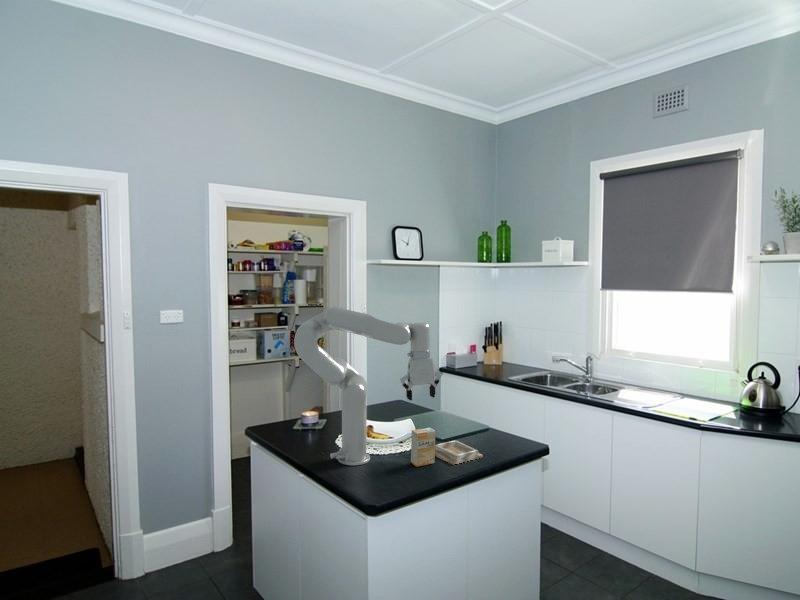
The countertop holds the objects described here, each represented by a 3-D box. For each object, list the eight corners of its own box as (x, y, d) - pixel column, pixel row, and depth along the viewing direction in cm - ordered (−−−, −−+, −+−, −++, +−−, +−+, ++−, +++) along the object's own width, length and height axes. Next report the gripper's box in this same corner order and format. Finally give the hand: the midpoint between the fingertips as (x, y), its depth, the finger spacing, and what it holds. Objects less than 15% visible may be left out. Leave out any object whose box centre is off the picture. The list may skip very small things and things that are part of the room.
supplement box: (416, 467, 189) (417, 433, 188) (410, 463, 193) (410, 429, 192) (435, 463, 193) (435, 430, 192) (428, 459, 197) (429, 426, 196)
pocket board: (453, 465, 191) (453, 457, 190) (430, 453, 203) (430, 445, 203) (482, 457, 199) (482, 450, 199) (458, 446, 211) (458, 438, 211)
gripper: (403, 358, 187) (404, 403, 188) (444, 354, 194) (445, 397, 195) (396, 355, 194) (397, 398, 195) (435, 351, 201) (436, 393, 202)
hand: (421, 398), depth 195 cm, fingers open, 9 cm apart
